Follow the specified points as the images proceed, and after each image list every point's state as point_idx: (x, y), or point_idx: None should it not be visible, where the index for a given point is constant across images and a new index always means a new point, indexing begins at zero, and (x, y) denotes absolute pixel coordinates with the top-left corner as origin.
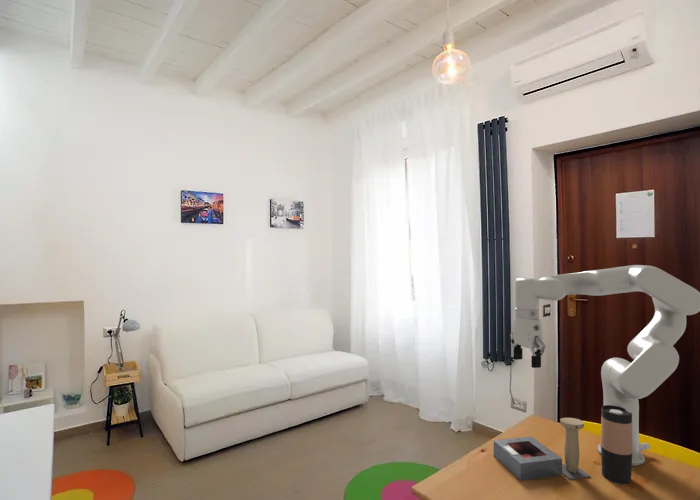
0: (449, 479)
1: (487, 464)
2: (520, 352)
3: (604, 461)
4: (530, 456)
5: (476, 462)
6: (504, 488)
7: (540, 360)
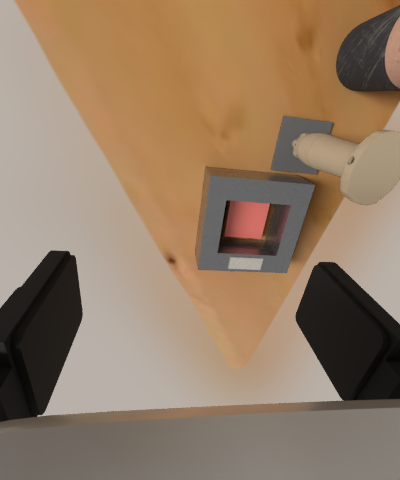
0: (229, 338)
1: (216, 276)
2: (48, 320)
3: (375, 89)
4: (239, 202)
5: (204, 289)
6: (278, 287)
7: (368, 302)
